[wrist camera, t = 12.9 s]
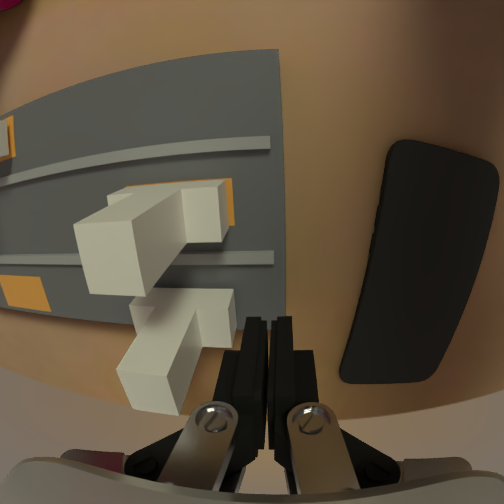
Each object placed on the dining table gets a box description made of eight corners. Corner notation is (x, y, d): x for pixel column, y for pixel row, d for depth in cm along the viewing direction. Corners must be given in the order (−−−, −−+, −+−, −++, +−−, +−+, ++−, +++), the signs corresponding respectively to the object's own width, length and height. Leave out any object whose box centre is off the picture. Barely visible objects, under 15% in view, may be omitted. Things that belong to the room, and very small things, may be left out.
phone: (334, 384, 18) (390, 134, 12) (333, 375, 19) (384, 134, 13) (431, 381, 18) (503, 166, 12) (427, 374, 18) (495, 164, 13)
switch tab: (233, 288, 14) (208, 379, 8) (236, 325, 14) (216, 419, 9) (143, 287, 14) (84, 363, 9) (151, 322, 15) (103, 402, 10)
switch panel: (278, 60, 12) (278, 47, 10) (285, 308, 17) (285, 333, 14) (-39, 145, 14) (-59, 150, 12) (-9, 291, 19) (-25, 304, 17)
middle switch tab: (225, 179, 12) (183, 217, 7) (228, 227, 13) (194, 297, 7) (126, 187, 12) (40, 227, 7) (132, 231, 13) (57, 291, 8)
